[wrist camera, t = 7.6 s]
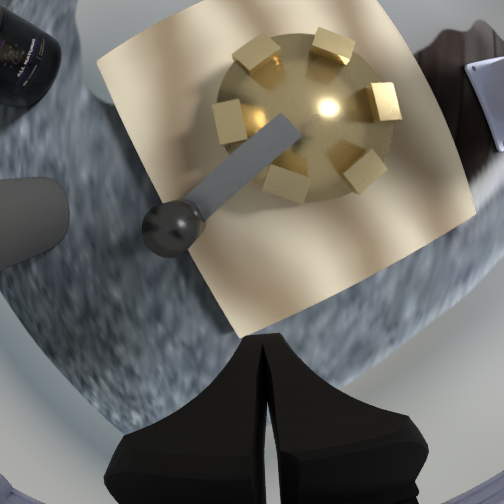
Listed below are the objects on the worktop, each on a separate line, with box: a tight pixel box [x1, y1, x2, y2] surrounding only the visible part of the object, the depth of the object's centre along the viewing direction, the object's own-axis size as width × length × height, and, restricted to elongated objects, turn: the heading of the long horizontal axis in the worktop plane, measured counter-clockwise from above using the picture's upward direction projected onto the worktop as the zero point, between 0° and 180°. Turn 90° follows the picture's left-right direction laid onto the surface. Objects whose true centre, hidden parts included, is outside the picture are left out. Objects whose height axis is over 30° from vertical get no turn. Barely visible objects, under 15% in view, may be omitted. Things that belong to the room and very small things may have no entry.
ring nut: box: [142, 27, 402, 258], centre depth 14 cm, size 10×15×6 cm, turn 132°
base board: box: [96, 0, 476, 339], centre depth 17 cm, size 20×22×2 cm
